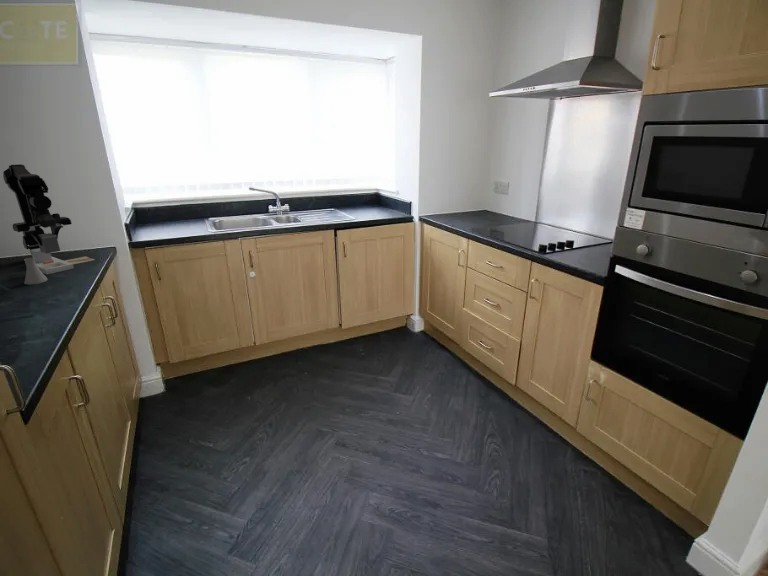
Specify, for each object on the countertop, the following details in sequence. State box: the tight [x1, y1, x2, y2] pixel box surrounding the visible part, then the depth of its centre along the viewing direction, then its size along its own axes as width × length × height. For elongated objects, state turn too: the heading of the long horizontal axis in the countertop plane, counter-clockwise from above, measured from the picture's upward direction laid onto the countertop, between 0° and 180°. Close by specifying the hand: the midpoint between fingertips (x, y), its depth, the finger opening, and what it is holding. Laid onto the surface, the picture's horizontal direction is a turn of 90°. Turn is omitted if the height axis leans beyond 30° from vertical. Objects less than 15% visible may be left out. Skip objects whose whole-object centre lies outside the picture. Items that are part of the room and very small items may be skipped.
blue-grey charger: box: [29, 248, 53, 263], centre depth 187 cm, size 6×5×7 cm
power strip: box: [24, 255, 75, 275], centre depth 186 cm, size 27×10×3 cm, turn 56°
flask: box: [23, 257, 49, 285], centre depth 165 cm, size 7×7×10 cm
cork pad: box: [64, 256, 96, 265], centre depth 195 cm, size 10×9×1 cm
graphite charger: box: [39, 232, 61, 254], centre depth 177 cm, size 6×5×7 cm
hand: (48, 244), depth 178 cm, fingers closed on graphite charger, 5 cm apart
